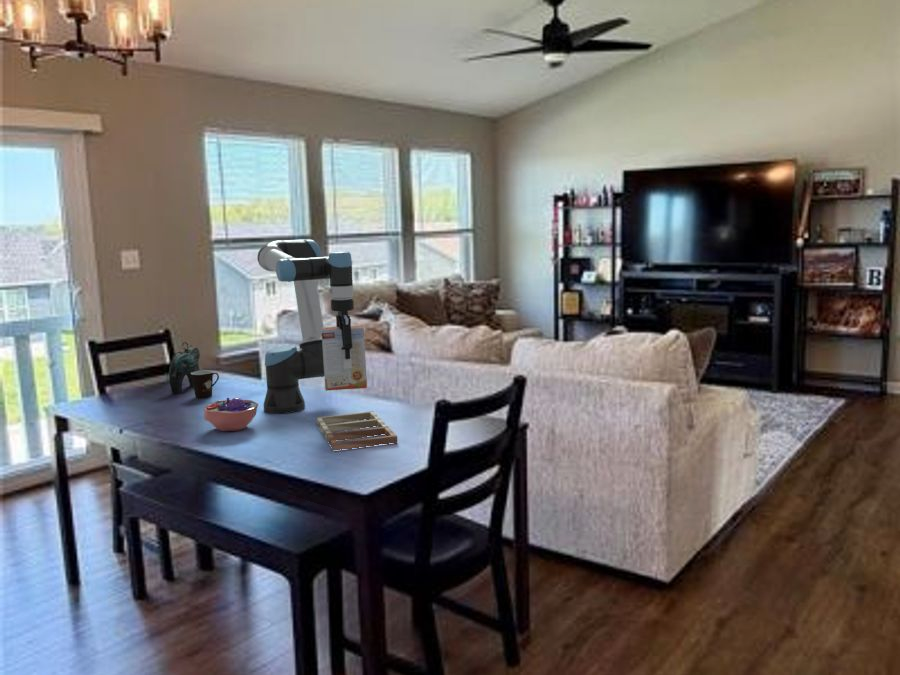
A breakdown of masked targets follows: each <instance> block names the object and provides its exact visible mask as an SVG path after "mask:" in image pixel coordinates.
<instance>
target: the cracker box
mask: <svg viewBox="0 0 900 675" xmlns="http://www.w3.org/2000/svg"><path fill="white" fill-rule="evenodd" d="M351 336H352V348H351V359H352V368H347V369H344V368H343V350H341V348H343V341H342V330H341V329H340V328H339V327H337V326H330V327H329V326H328V327H324V328H322V346H323V361H324V386H325V387H324V388H325V391H341V390H356V389H357V390H358V389H367V388H368V381H367V380H368V378H367V363H366V361H367V360H366V346H365V331H364V325H351ZM347 345H349V344H347Z"/></svg>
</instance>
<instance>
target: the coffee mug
mask: <svg viewBox="0 0 900 675" xmlns="http://www.w3.org/2000/svg"><path fill="white" fill-rule="evenodd" d="M214 375H216V376H217V378H216V380H215V381H214V383H213V379H214V378H213V377H214ZM191 378H192V383H193V386H192V387H193V392H194V396H195V398H196V399H208V398H211V397H213V387H214V386H215V385H216V384H217V382H218V381H219V378H220V375H219V373H218V372H214V371H213V370H207V369H206V370H199V371H196V372H192V373H191Z"/></svg>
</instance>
